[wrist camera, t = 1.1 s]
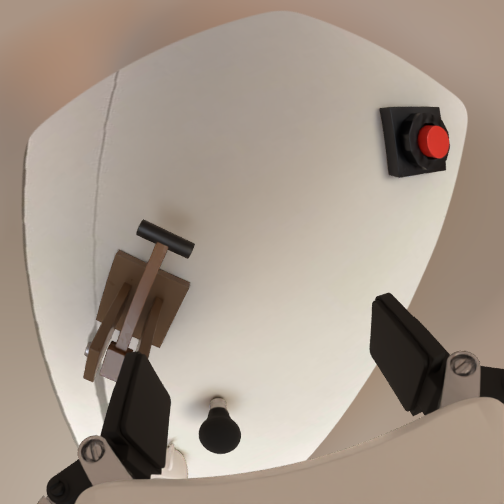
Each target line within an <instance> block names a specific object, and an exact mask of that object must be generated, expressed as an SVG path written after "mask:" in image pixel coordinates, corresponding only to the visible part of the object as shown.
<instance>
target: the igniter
mask: <svg viewBox="0 0 504 504" xmlns="http://www.w3.org/2000/svg"><path fill="white" fill-rule="evenodd" d="M380 113H381V119H382V125H383V131H384V138H385V145H386V152H387V161H388V170H389V175H391V176H395V177H399V178H400V177H406V176H412V175H418V174H425V173H431V172H438V171H444V170H446V162H445V161H446V160H447V156H448V152H449V149H450V144H449V149H448V152H447V154H446V155H445V156H444V157H443V158H433V157H428V156H426V155H424V154H423V153H422V152H421V150H420V148H419V145H418V134H419V131H420V129H421V128H422V127H424V126H426V125H431V126H440V127H442V128H443V129H444V130H445V132H446V133H447V135H448V139H449V134H448V131H447V129H446V127H445V125H444V123H443V121H442V120H441V115H440V109H439V107H386V108H380Z"/></svg>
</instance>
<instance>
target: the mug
mask: <svg viewBox="0 0 504 504" xmlns="http://www.w3.org/2000/svg"><path fill="white" fill-rule="evenodd" d="M186 478H188V469H187V464H186V460H185V458H184V456H183V455H182V454H181V453H180V452H179V451H177V450H175V448H174V445H173V444H171V445H170V447H169V448H167V450H166V465H165V468H162V474H161V475H151V479H186Z"/></svg>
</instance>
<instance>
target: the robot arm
mask: <svg viewBox="0 0 504 504" xmlns="http://www.w3.org/2000/svg"><path fill="white" fill-rule="evenodd" d="M370 354H371V356H372V358H373V359H374V361H375V362H376V364H377V365H378V367H379V368H380V370H381V372H382V373H383V375H384V376H385V378H386V380H387V381H388V382H389V385H390V386H391V388H392V389H393V391H394V392H395V394H396V396H397V397H398V399H399V401H400V402H401V404H402V406H403V407H404V409H405V410H406V411H410V412H411V414H412V415H413V416H414V415H417V414H419V413H421V412H423V414H424V415H425V416H423V417H421V418H419V419H417V420H415V421H413V422H411V423H409V424H406V425H404V426H402V427H400V428H397V429H395V430H393V431H390V432H388V433H386V434H384V435H381V436H378V437H376V438H374V439H371V440H369V441H366V442H363V443H360V444H358V445H355V446H352V447H349V448H346V449H344V450H340V451H337V452H334V453H331V454H328V455H324V456H321V457H317V458H314V459H310V460H306V461H302V462H298V463H294V464H290V465H285V466H281V467H276V468H271V469H265V470H260V471H254V472H248V473H241V474H233V475H225V476H216V477H204V478H186V479H151V475H161V474H162V468H165V465H166V450H167V438H168V426H169V416H170V406H171V399H170V396H169V394H168V392H167V391H166V389H165V387H164V386H163V384H162V382H161V381H160V379H159V377H158V376H157V374H156V372H155V371H154V369H153V367H152V365H151V364H150V362H149V360H148V358H147V356H146V355H145V354H142V353H141V352H139V351H137V352H130V353H126V354H125V357H124V360H123V363H122V366H121V369H120V372H119V375H118V379H117V382H116V385H115V387H114V389H113V393H112V396H111V399H110V403H109V406H108V410H107V413H106V417H105V420H104V424H103V428H102V432H101V436H96V435H95V436H90V437H88V438H86V439H85V440H83V441H82V442H81V444H80V445H79V448H78V458H79V459H78V460H77V461H75V462H74V463H73V464H71V465H70V466H68V467H67V468H65V469H64V470H63V471H61V472H60V473H58V474H57V475H55V476H54V477H53V478H51V479H50V480H49V482H48V484H47V495H48V496H47V497H45V496H43V497H42V498H41V499H40V500H39V502H38V503H37V504H504V369H499V368H491V367H484V366H480V361H479V360H478V358H477V357H476V356H475V355H474V354H472V353H470V352H467V351H457V352H454V353H453V354H451V355H450V354H449V353H448V352H447V351H446V350H445V349H444V348H443V347H442V345H441V344H440V343H439V342H438V341H437V340H436V339H435V338H434V337H433V335H432V334H431V333H430V332H429V331H428V330H427V329H426V328H425V327H424V326H423V325H422V324H421V323H420V322H419V321H418V320H417V319H416V318H415V317H413V316H412V315H411V314H410V313H409V312H408V311H407V310H406V309H405V307H404V306H403V305H402V304H401V303H400V302H399V301H398V300H397V299H396V298H395V297H394V296H393V295H392V294H391V293H386V294H383V295H380V296H377V297H376V299H375V301H373V303H372V320H371V336H370Z"/></svg>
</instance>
